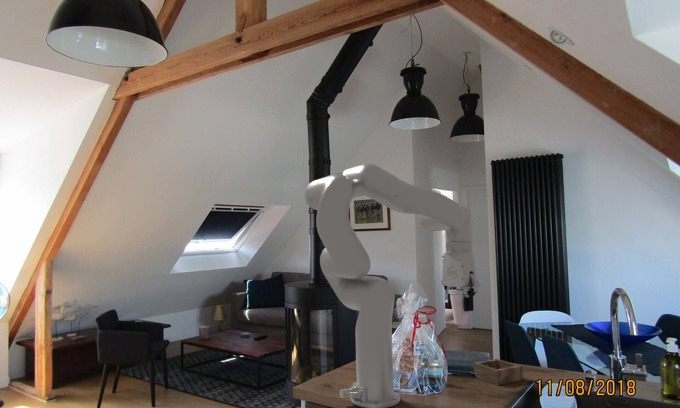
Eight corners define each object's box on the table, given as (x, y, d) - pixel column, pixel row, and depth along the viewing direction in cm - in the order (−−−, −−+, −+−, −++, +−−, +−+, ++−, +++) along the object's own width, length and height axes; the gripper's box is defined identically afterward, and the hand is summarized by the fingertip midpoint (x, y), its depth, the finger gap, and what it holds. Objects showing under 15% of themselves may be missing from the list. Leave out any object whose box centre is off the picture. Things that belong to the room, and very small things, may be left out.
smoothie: (474, 324, 134) (472, 275, 136) (452, 325, 134) (450, 275, 136) (469, 321, 140) (467, 274, 142) (447, 321, 141) (445, 274, 142)
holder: (498, 385, 131) (497, 370, 132) (472, 376, 140) (472, 363, 141) (523, 380, 136) (522, 366, 136) (497, 372, 145) (496, 358, 145)
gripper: (430, 248, 145) (431, 307, 144) (469, 248, 130) (471, 314, 128) (449, 248, 149) (450, 305, 147) (489, 247, 133) (492, 312, 132)
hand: (460, 309), depth 138 cm, fingers closed on smoothie, 6 cm apart
